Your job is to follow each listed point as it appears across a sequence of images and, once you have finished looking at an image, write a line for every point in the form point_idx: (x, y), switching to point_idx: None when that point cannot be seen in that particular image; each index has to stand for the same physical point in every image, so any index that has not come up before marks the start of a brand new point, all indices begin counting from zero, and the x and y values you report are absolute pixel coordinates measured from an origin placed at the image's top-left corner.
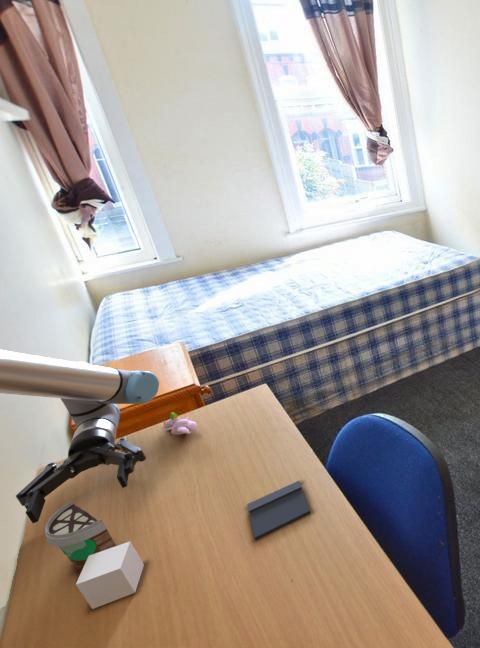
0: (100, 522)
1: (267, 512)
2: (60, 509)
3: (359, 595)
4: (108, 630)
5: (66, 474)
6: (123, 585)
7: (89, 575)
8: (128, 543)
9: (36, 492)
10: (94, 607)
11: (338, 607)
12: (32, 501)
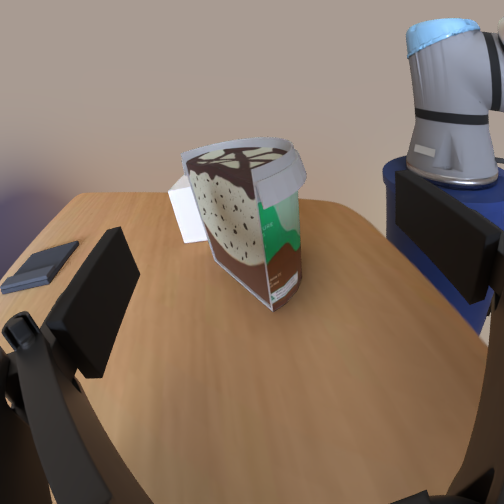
0: (185, 158)
1: (47, 262)
2: (279, 161)
3: (78, 205)
4: None
5: (483, 440)
6: None
7: None
8: (170, 189)
9: (479, 225)
10: None
11: (89, 201)
12: (437, 193)
